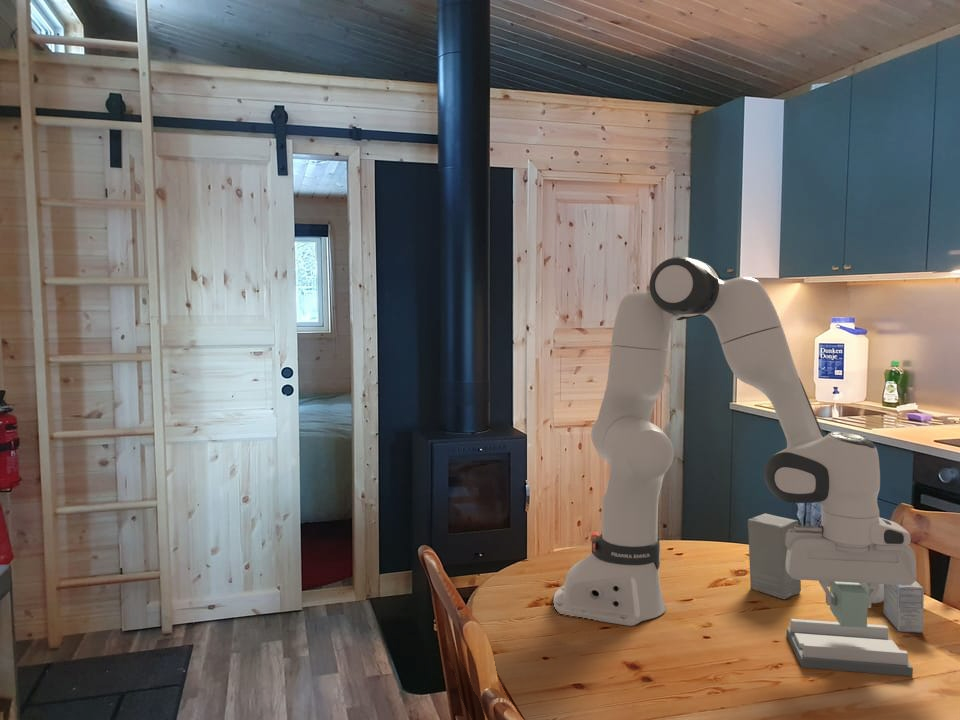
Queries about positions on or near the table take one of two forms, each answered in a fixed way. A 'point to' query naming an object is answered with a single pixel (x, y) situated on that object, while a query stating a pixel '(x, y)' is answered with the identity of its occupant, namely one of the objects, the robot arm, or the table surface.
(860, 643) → the rail board
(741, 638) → the table surface
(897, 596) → the medicine box
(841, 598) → the rail module
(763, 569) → the skincare box
